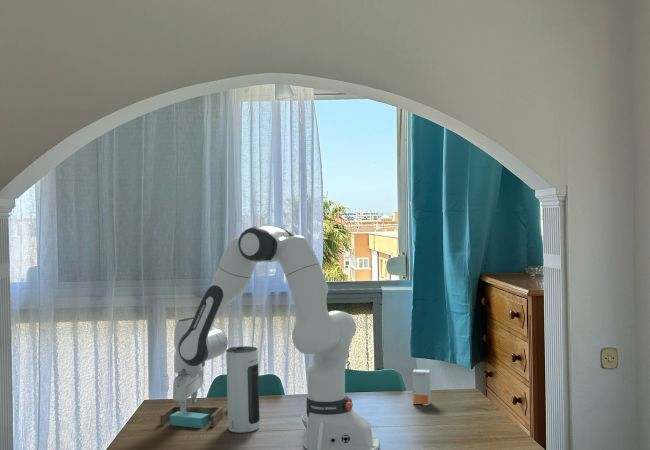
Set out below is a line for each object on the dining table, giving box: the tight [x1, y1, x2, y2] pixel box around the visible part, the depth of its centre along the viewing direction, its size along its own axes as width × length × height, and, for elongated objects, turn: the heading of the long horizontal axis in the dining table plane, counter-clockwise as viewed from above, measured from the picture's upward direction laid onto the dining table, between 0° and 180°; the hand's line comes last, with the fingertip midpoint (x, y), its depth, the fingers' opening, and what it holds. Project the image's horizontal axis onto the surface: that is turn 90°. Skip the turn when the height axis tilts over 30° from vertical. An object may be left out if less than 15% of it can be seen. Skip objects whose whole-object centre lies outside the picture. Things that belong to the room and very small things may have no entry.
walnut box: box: [160, 405, 224, 428], centre depth 217 cm, size 18×11×4 cm, turn 83°
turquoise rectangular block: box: [169, 411, 210, 429], centre depth 214 cm, size 12×5×4 cm, turn 70°
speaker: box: [225, 345, 261, 434], centre depth 209 cm, size 11×10×26 cm
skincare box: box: [412, 368, 432, 405], centre depth 233 cm, size 6×4×12 cm
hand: (188, 407), depth 214 cm, fingers open, 8 cm apart
